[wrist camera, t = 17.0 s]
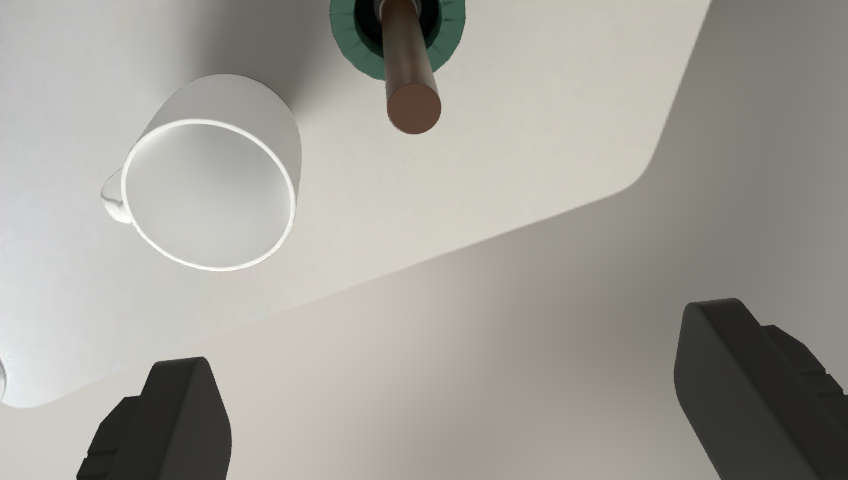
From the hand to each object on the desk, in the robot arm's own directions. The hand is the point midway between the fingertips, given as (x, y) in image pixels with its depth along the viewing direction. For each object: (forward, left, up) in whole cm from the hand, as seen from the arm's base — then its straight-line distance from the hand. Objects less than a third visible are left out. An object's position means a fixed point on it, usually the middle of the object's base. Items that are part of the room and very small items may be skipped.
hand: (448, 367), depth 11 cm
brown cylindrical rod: (0, 0, -33) cm, 33 cm away
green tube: (0, 0, -34) cm, 34 cm away
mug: (+12, +8, -34) cm, 37 cm away
